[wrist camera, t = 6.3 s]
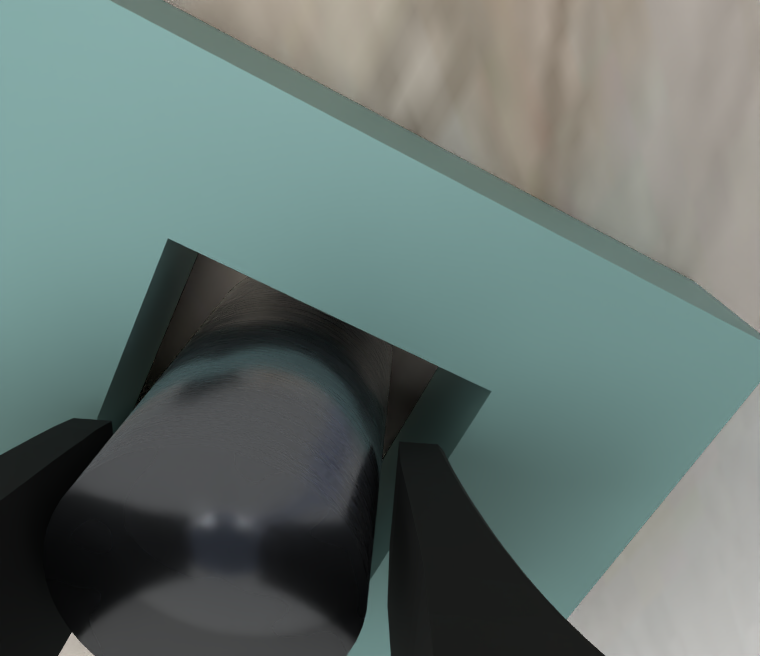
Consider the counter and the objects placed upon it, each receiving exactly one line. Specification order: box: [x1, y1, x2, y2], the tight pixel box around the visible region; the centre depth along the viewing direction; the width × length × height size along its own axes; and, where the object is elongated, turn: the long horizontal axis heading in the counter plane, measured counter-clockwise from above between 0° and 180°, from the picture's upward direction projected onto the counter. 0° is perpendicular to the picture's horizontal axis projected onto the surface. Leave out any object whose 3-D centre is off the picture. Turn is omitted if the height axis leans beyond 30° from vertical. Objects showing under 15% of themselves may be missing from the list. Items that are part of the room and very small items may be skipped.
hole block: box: [0, 0, 760, 656], centre depth 13 cm, size 13×11×4 cm
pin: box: [43, 277, 392, 656], centre depth 12 cm, size 4×4×7 cm
